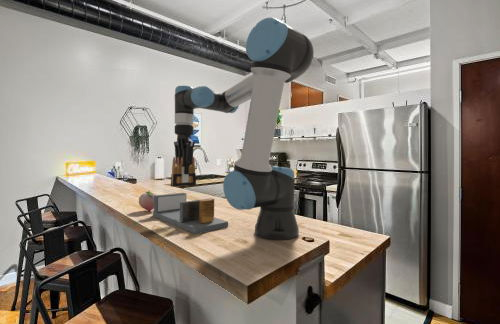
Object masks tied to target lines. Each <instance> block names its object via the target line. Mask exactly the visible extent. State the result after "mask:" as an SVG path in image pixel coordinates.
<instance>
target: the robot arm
mask: <svg viewBox="0 0 500 324" xmlns="http://www.w3.org/2000/svg"><path fill="white" fill-rule="evenodd" d="M245 51H246V52H245V53H247V54H246V55H247V57H248V58H249V59H250V60H251V65H250V66H251V67H250V71H251V73H252V74H250V75H249V76H248V77H245V78H244V79H243V80H241V81H240V82H237V83H236V84H234V85H233V86H231V87H229V88H228V89H226V90H225V91H223V92H219V91H215V90H212V89H211V88H210V86H206V85H202V86H196V87H195V88H194V87H192V86H189V85H177V86H176V87H175V90H174V91H175V92H174V124H175V125H174V134H175V135H177V139H176V141H174V142H173V145H174V155H175V156H174V157H175V161H176V164H177V158H178V157H179V161H180V163H181V157H183V165H181V166H183V167H182V183H184V182H189V166H190V165H191V166H192V160H193V157H194V149H195V148H194V147H195V144H196V141H194V140H192V137H191V136H193V135H194V120H195V118H194V110H195V109H201V110H202V109H204V110H209V111H216V112H222V113H225V114H234V113H235V112H237V110H238V109H239V106H240V105H242V104H244V103H245V102H248V101H249V100H250V103H249V109H248V114H247V119H246V120H247V121H246V126H245V132H244V138H243V144H242V147H241V148H242V150H241V156H240V158H238V159H237V160H235V162H234V167H233V170H231V171H229V172H228V173H227V174H225V176H224V179H223V184H222V185H223V186H222V187H223V189H222V190H223V193H224V197H225V198H226V201H227V203H228V204H229V205H230V206H231V207H233V208H234V209H236V210H239V211H240V210H241V211H243V210H244V211H245V210H253V209H257V208H259V209H260V210H259V212H258V216H257V220H256V223H255V225H254V234H255V235H256V236H258V237H260V238H264V239H268V240H269V239H270V240H277V239H283V240H288V239H287V238H291V239H294V237H295V238H297V237H298V236H299V230H300V229H299V226H298V221H297V218H296V215H295V182H296V178H295V172H294V170H293V169H292V168H290V167H286V166H285V167H283V166H275V165H271V164H270V158H271V153H272V147H273V143H274V138H275V137H274V136H275V134H276V133H275V131H276V127H277V121H278V117H279V111H280V108H281V107H280V105H281V102H282V101H281V100H282V96H283V92H284V86H285V84H288V83H290V82H292V81H294V80H296V79H298V78H299V77H301V76H302V75H304V73H306V72H307V71H308V69H310V66H311V65H312V64H313V60H314V46H313V44H312V41H311V39H309V37H308V36H306V35H305V34H304V33H301V32H299V31H298V30H297V29H295V28H293V27H292V26H289V25H288V24H287V23H286V22H284V21H283V20H280V19H277V18H276V17H272V16H271V17H270V16H269V17H266V18H262V19H261V20H260V21H258V22H257V23H256V25H255V26H253V28H251V30H250V32H249V34H248V35H247V39H246V42H245Z"/></svg>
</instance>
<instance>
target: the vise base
mask: <svg viewBox="0 0 500 324" xmlns="http://www.w3.org/2000/svg"><path fill="white" fill-rule="evenodd" d="M186 201H187V192H186V193H185V192H179V193H178V192H177V193H167V194H166V193H165V194H156V195H154V209H153V210H152V217H155V218H157V219H160V220H162V221H164V222H167V223H168V224H171V225H173V226H176V227H178V228H180V229H183V230H185V231H187V232H189V233H192V234H194V235H198V234H203V233H206V232H212V231H216V230H220V229H224V228H225V229H226V228H228V227H229V221H227V220H224V219H221V218H217V217H215V216H214V221H212V222H207V223H199V219H198V220H192V221H187V222H180V202H186Z"/></svg>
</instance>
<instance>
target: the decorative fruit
mask: <svg viewBox="0 0 500 324" xmlns="http://www.w3.org/2000/svg"><path fill="white" fill-rule="evenodd" d="M154 195H157V194H156V193H154V192H152V191H145V192H144V193H142V194H140V196H139V197H138V204H139V206H140V207H141V208H142V209H144V210H147V211H148V212H151V211H153V210H154Z"/></svg>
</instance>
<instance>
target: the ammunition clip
mask: <svg viewBox="0 0 500 324" xmlns="http://www.w3.org/2000/svg"><path fill="white" fill-rule="evenodd" d="M195 163H196V161H195V156H193V160H192V165H190V166H189V182H184V183H182V167H183V166H181V165H183V157H181V163H180V161H179V157H178V158H177V164H176V159H175V156H173V158H172V164H171V165H172V166H171V174H170V176H171V177H170V187H173V188H176V187H189V186H190V187H191V186H197V174H196V165H195Z"/></svg>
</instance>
